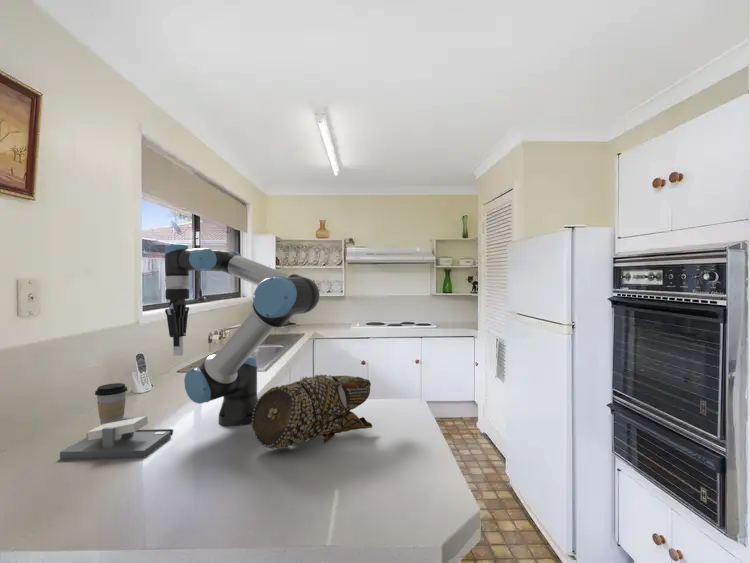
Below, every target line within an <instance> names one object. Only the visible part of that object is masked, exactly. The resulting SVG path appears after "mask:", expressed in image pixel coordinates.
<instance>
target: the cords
mask: <svg viewBox="0 0 750 563" xmlns="http://www.w3.org/2000/svg"><path fill="white" fill-rule="evenodd" d="M163 431H171V436H172V435H173V433H174V429H172V428H167V429H161V428H160V429H139V430H137V431H135V432H163Z"/></svg>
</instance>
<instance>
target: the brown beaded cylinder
mask: <svg viewBox="0 0 750 563" xmlns="http://www.w3.org/2000/svg"><path fill="white" fill-rule="evenodd" d="M371 384H372V383H371V381H370V380H369V379H368V378H363V377H360V376H351V375H330V374H329V375H327V374H316V375H314V376H309V377H305V378H303V379H300V380H298V381H297V380H296V381H293V382H292V383H287V384H283V385H279V386H274V387H272V388H269V390H267V391H265V392H264V393H263V394H262V395H260V397H259V398H258V402H257V403H256V405H255V408H254V409H253V411H254V412H253V416H252V417H253V419H252V423H251V429H252V431H253V432H254V435H255V439H256V441H257V443H259V444H260V445H261V446H263V447H266V448H269V449H280V448H282V449H283V448H284V449H287V448H289V447H292V446H294V445H297V444H298V443H302V442H307V441H308V440H313V439H316V438H320V437H322V438H323V439H324V440H323V442H324V444H325V445H326V444H327V443H328V442H329V441H330V440H331V439H332V438H333V437H334V435H336V434H341V433H346V432H351V431H355V430H361V429H363V430H364V429H372V428H373V424H372V423H371V422H369V421H367V420H366V418H365V417H363V416H361V417H358V415H357V414H355V413H354V412H353V411H352V410H354V409H356V408H358V407H359V406H361V405H362V404H364V403H365V402H367V400H368V398H369V396H370V394H371V386H372V385H371Z"/></svg>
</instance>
